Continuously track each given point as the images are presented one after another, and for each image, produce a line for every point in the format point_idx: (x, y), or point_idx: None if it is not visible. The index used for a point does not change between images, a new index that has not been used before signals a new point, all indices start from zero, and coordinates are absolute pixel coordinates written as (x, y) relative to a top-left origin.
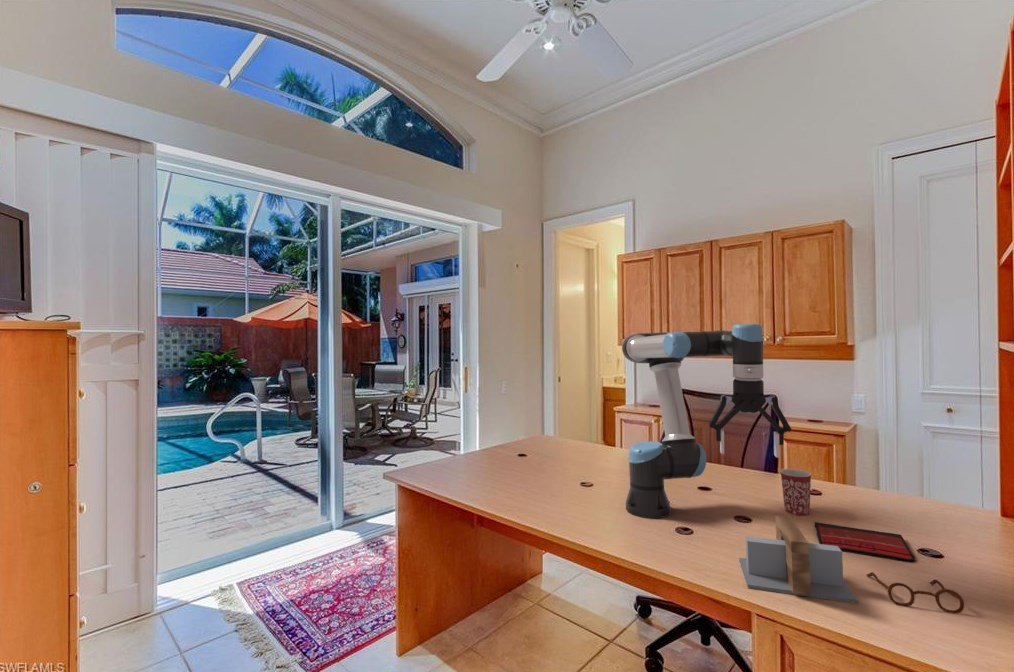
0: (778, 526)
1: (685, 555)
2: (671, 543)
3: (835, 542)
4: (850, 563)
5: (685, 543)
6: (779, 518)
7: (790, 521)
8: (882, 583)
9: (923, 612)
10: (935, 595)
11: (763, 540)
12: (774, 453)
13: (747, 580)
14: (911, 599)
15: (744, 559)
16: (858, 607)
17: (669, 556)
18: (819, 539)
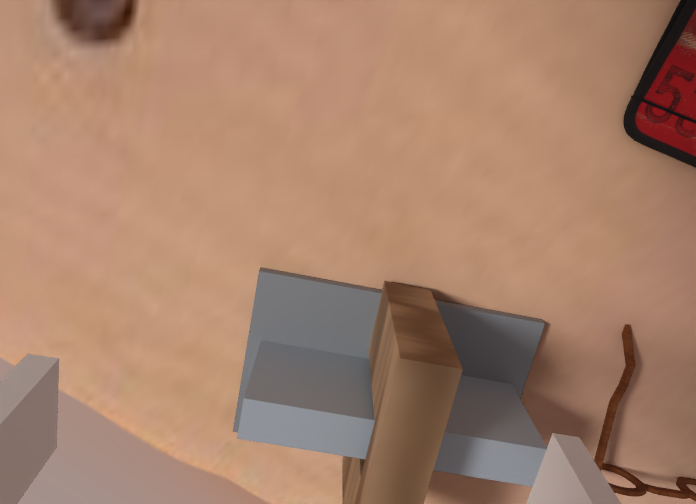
0: (385, 390)
1: (76, 243)
2: (29, 143)
3: (692, 107)
4: (632, 252)
5: (86, 138)
6: (400, 393)
7: (432, 422)
8: (603, 441)
9: (624, 487)
10: (688, 496)
11: (299, 429)
12: (553, 462)
13: (239, 410)
14: (627, 478)
15: (273, 282)
16: (482, 482)
17: (17, 256)
18: (648, 77)
